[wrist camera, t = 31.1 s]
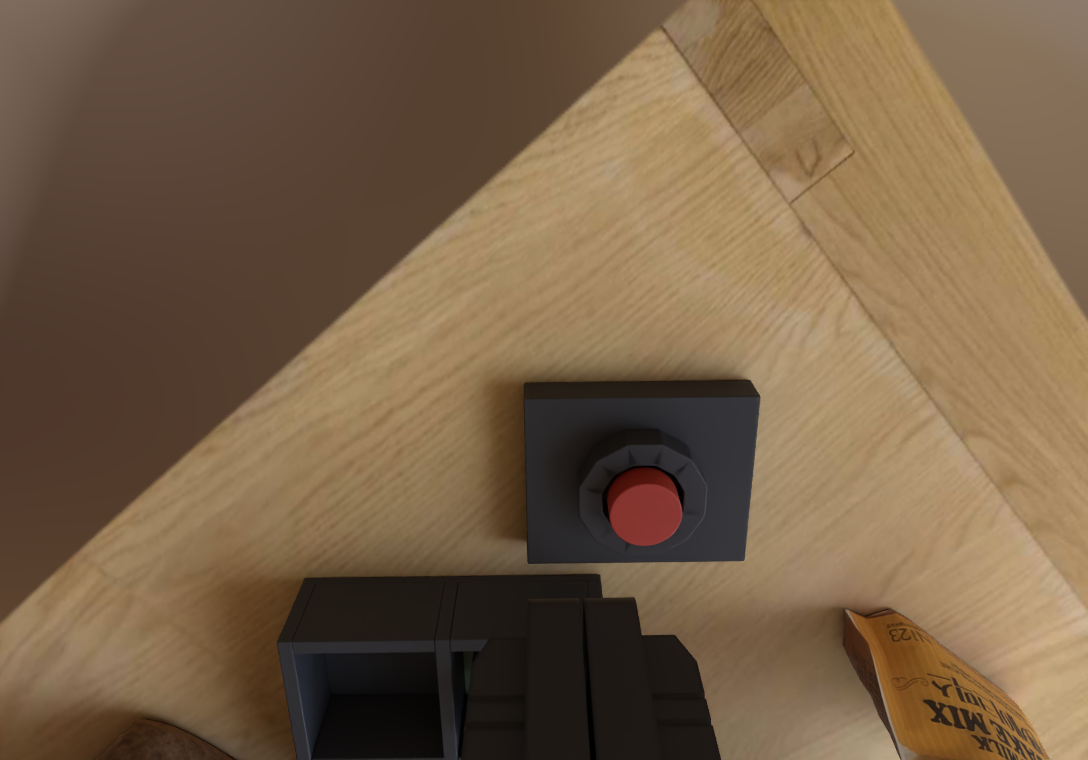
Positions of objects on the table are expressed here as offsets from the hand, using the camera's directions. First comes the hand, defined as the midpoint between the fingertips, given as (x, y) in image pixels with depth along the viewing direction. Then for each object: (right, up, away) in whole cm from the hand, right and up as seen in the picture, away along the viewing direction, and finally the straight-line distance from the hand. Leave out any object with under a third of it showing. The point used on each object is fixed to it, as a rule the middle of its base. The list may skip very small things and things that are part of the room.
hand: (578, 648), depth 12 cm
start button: (+5, -2, +31) cm, 31 cm away
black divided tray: (-6, -16, +40) cm, 44 cm away
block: (+5, -1, +34) cm, 34 cm away
